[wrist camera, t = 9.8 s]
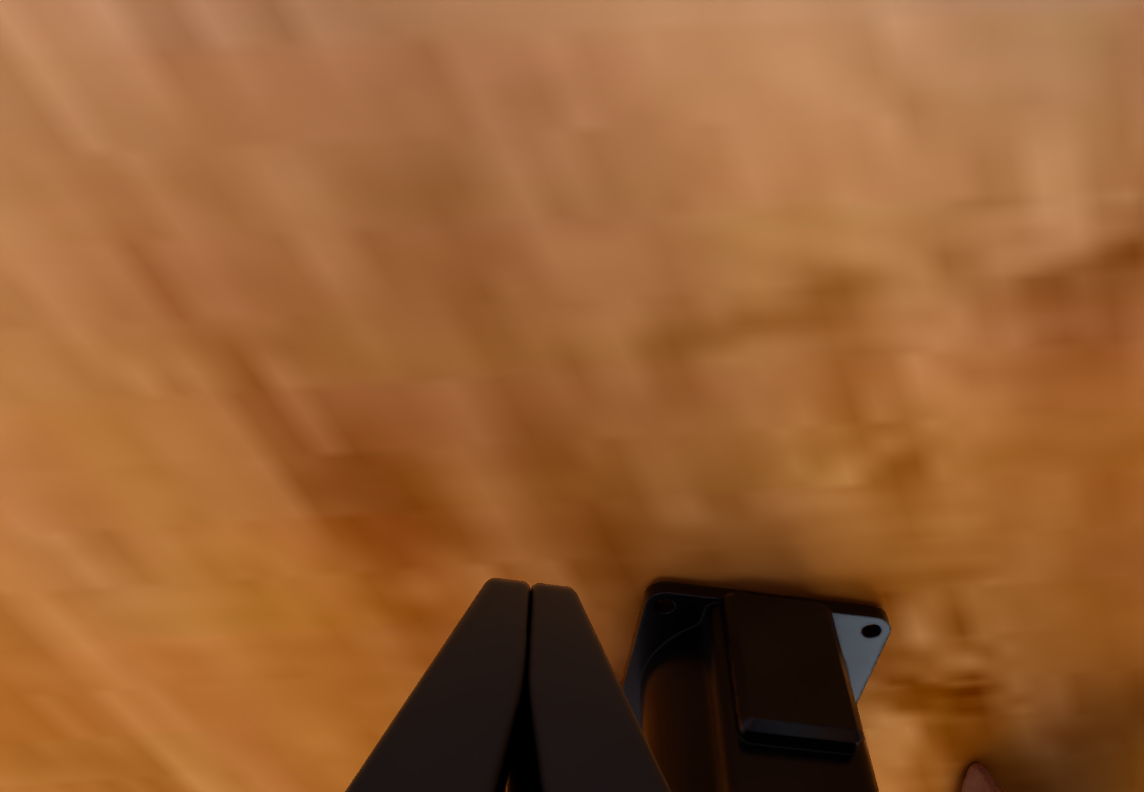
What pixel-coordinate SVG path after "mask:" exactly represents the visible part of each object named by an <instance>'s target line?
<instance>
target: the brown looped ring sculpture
mask: <svg viewBox="0 0 1144 792" xmlns="http://www.w3.org/2000/svg"><path fill="white" fill-rule="evenodd" d="M962 792H1003V791H1001V790H999V789H998V788H997V784H996V782H995V780H994V779H993V778H992V776H991V775H990V774H989V772H988V771H987V770H986V769H985V768H984V767H983V766H982V765H981V764H979V763H974V764H972V765H971V766H970V767H969V769H968V771H967V775H966V778H965V780H964V782H963V785H962Z"/></svg>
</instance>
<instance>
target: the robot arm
mask: <svg viewBox="0 0 1144 792" xmlns="http://www.w3.org/2000/svg"><path fill="white" fill-rule="evenodd" d="M664 599H667V600H669V601H667V602H660V600H664ZM870 624H874V625H871V626H867V625H870ZM890 630H891V627H890V624H889V621H888V617H887V615H886V613H885V611H883V610H882V609H881V608H878V607H874V606H866V605H858V604H849V603H841V602H833V601H825V600H816V599H808V598H800V597H792V596H783V595H775V594H767V593H758V592H750V591H742V590H734V589H725V588H717V587H709V586H700V585H692V584H684V583H676V582H657V583H654V584H652V585H651V586H649V587H648V588H647V590H646V592H645V594H644V598H643V602H642V606H641V610H640V613H639V617H638V621H637V625H636V629H635V633H634V636H633V640H632V644H631V648H630V652H629V656H628V659H627V663H626V667H625V671H624V675H623V679H622V682H621V685H620V683H619V681H618V679H617V677H616V675H615V673H614V671H613V669H612V666H611V664H610V662H609V660H608V658H607V656H606V654H605V652H604V650H603V648H602V645H601V643H600V641H599V639H598V637H597V635H596V633H595V631H594V629H593V627H592V625H591V622H590V620H589V618H588V616H587V614H586V612H585V610H584V608H583V606H582V604H581V601H580V599H579V597H578V595H577V594H576V592H575V591H574V590H573V589H572V588H571V587H568V586H559V585H551V584H543V583H537V584H534V585H533V586H532V588H531V591H530V586H529V584H528V583H527V582H524V581H518V580H509V579H501V578H491V579H489V580H488V581H487V582H486V583H485V584H484V586H483V587H482V588H481V590H480V591H479V593H478V594H477V596H476V597H475V599H474V600H473V602H472V603H471V605H470V606H469V608H468V609H467V611H466V612H465V614H464V615H463V617H462V618H461V620H460V621H459V623H458V624H457V626H456V627H455V629H454V630H453V632H452V633H451V635H450V636H449V638H448V639H447V641H446V642H445V644H444V645H443V647H442V648H441V650H440V651H439V653H438V654H437V656H436V657H435V659H434V660H433V662H432V663H431V664H430V666H429V667H428V669H427V670H426V672H425V673H424V675H423V676H422V678H421V679H420V681H419V682H418V684H417V685H416V687H415V688H414V690H413V691H412V693H411V694H410V696H409V697H408V699H407V700H406V702H405V703H404V705H403V706H402V708H401V709H400V711H399V712H398V714H397V715H396V717H395V718H394V720H393V721H392V723H391V724H390V726H389V727H388V729H387V730H386V732H385V733H384V735H383V736H382V738H381V739H380V740H379V742H378V743H377V745H376V746H375V748H374V749H373V751H372V752H371V754H370V755H369V757H368V758H367V760H366V761H365V763H364V764H363V766H362V767H361V769H360V770H359V772H358V773H357V775H356V776H355V778H354V779H353V781H352V782H351V784H350V785H349V787H348V788H347V790H346V791H345V792H505V791H506V792H879V789H878V786H877V782H876V778H875V774H874V770H873V766H872V762H871V759H870V755H869V751H868V747H867V743H866V739H865V735H864V732H863V728H862V724H861V720H860V716H859V712H858V708H857V705H856V704H857V702H858V700H859V698H860V696H861V694H862V691H863V689H864V687H865V685H866V683H867V681H868V679H869V677H870V674H871V672H872V670H873V668H874V666H875V664H876V662H877V660H878V658H879V655H880V653H881V651H882V649H883V647H884V645H885V643H886V641H887V638H888V636H889V634H890Z"/></svg>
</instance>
